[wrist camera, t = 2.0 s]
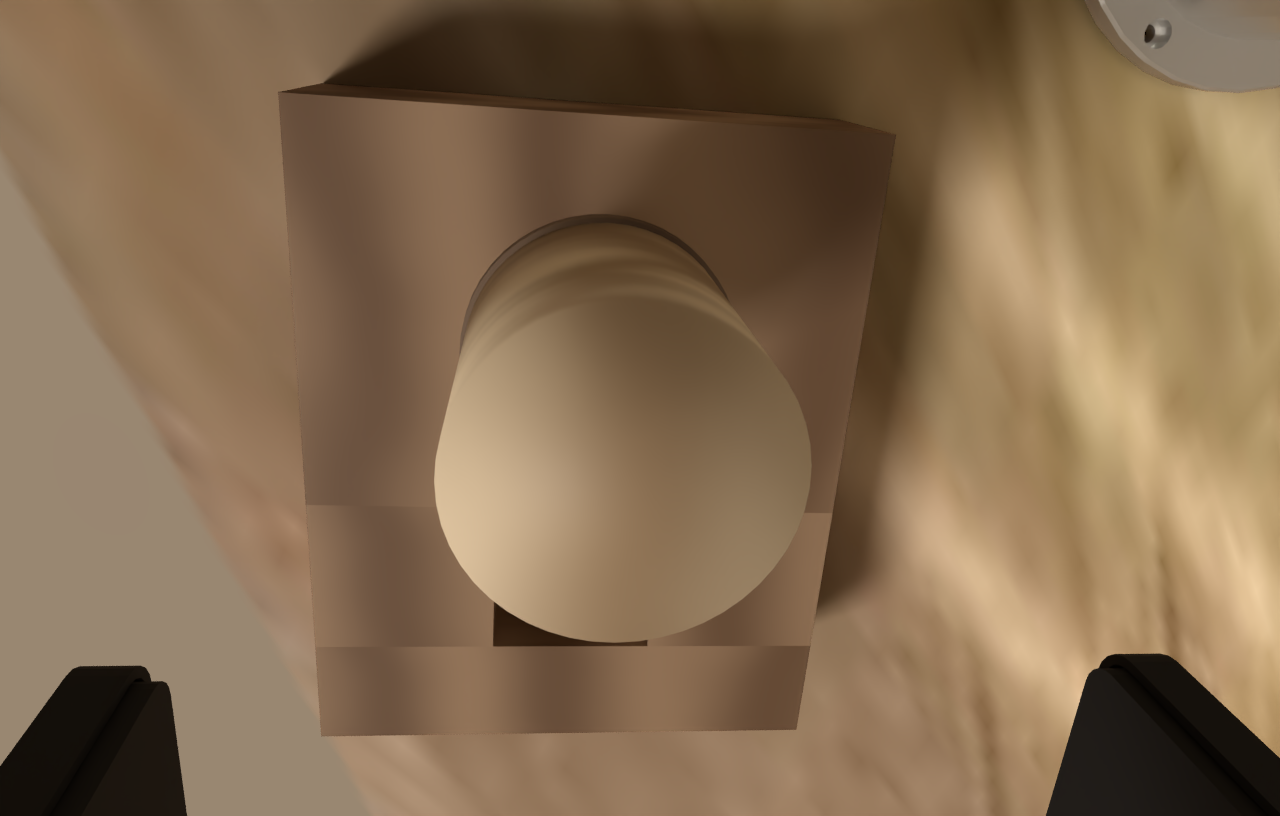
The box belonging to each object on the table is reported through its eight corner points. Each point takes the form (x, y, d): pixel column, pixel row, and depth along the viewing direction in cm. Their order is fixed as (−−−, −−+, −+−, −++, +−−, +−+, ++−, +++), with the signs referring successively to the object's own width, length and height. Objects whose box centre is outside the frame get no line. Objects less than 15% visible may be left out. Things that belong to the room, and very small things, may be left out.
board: (839, 119, 29) (896, 134, 25) (763, 642, 37) (796, 729, 32) (321, 83, 27) (278, 92, 23) (349, 643, 35) (321, 736, 30)
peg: (714, 191, 25) (844, 304, 14) (692, 411, 27) (790, 647, 17) (474, 177, 24) (425, 285, 14) (472, 405, 26) (430, 648, 16)
